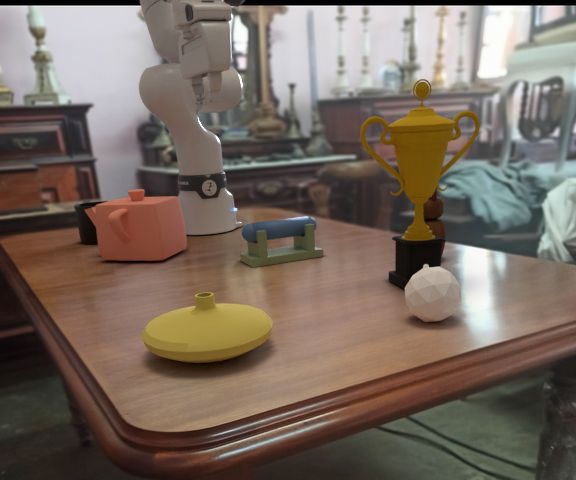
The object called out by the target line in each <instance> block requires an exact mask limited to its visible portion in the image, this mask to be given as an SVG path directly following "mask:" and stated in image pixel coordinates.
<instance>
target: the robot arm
mask: <svg viewBox="0 0 576 480" xmlns="http://www.w3.org/2000/svg"><path fill="white" fill-rule="evenodd" d="M245 2H246V0H139V4H140V9H141V11H142V15H143V18H144V22H145V25H146V27H147V31H148V33H149V37H150V40H151V42H152V46H153V48H154V50H155V52H156V53H157V54H158V55H159V56H160V57H161V58H162V59H163V60H166V62H167V61H168V63H161V64H157V65H153V66H149V67H146V68H144V70H143V72H142V74H141V75H140V78H139V82H138V92H139V96H140V100H141V102H142V103H143V105H144V106H145V108H146V109H147V110H148V111H149V112H150V113H151V114H153V115H154V116H156V117H157V118H158V119H159V120H160V121H161V122H162V123H163V124H164V126H165V127H166V129H167V131H168V132H169V135H170V136H171V139H172V142H173V145H174V149H175V154H176V160H177V161H176V162H177V167H178V175H177V188H178V190H179V191H178V195H177V197H178V199H179V203H180V207H181V211H182V215H183V219H184V225H185V230H186V236H202V235H203V236H205V235H212V234H213V235H215V234H221V233H227V232H230V231H234V230H235V229H237V228H240V227H243V222H242V221H238V220H237V214H236V212H238V208H237V207H235V199H234V195H233V194H232V193H231V192H230V191H228V189H227V186H228V185H227V184H228V183H227V181H228V180H227V177H226V174H227V173H226V172H225V170H224V161H223V160H224V159H223V151H222V150H223V149H222V143H221V140H220V138H219V137H218V135H216V134H215V133H213V132H212V131H210V130H209V129H207V128H205V127H204V126H203V125H202V124H201V121H200V118H199V114H219V113H222V112H226V111H229V110H232V109H233V110H234V109H235V108H237V107H238V106H239V104H240V103H241V100H242V98H243V92H244V86H243V85H244V84H243V81H242V78H241V76H240V73H239V72H238V71H237V69H236V68H235V67H233V66H231V65H232V58H233V57H232V56H233V55H232V34H231V33H232V32H231V24H230V22H231V21H232V19H233V11H232V7H233V8H234V7H235V8H239V7H240V6H241V5H242V4H243V3H245Z"/></svg>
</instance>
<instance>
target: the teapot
mask: <svg viewBox="0 0 576 480" xmlns="http://www.w3.org/2000/svg"><path fill="white" fill-rule="evenodd" d="M145 193H146V191H145V189H143V188H136V189H130V190H128V191H127V195H128V196H129V197H121V198H117V199H112V200H107V201H108V202H105V203H101V204H98V205H96V206H95V207H92V208H89V209H85V212H86V213H87V215H88V216H89V218H90V219H91V221H92V222H93V224H94V225H95V227H96V231H97V239H98V244H97V247H98V251H99V253H100V256H101V259H102V260H103V261H119V262H127V261H134V262H135V261H136V262H137V261H146V262H154V261H164V260H166V259H168V258H170V257H172V256H174V255H176V254H178V253H180V252H182V251H184V250H186V249H187V239H188V238H187V235H186V230H185V225H184V219H183V215H182V211H181V207H180V203H179V199H178V195H177V196H175V195H171V196H168V195H167V196H145Z"/></svg>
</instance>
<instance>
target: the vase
mask: <svg viewBox="0 0 576 480" xmlns="http://www.w3.org/2000/svg"><path fill="white" fill-rule="evenodd" d="M194 301H195V302H194V303H195V305H191V306H186V307H182V308H178V309H174V310H171V311H168V312H165V313H163V314H160V315H158V316H156V317H154V318H152V319H151V320H150V321H149V322H148V324H147V325H146V326H145V327H144V329H143V330H142V332H141V341H142V342H143V344H144V346H145V347H146V349H147V350H148V351H149V352H150V353H152V354H154V355H156V356H158V357H161V358H164V359H169V360H173V361H177V362H178V361H179V362H182V363H190V364H192V363H193V364H201V363H215V362H222V361H225V360H226V361H227V360H230V359H235V358H236V357H239V356H241V355H244V354H246V353H248V352H250V351H252V350H254V349H256V348H258V347H259V346H261V345H263V344H264V343H266V341H267V340H269V338H270V337H271V333H272V330H273V325H274V321H273V320H272V318H271V316H269V314H268V313H267V312H265V311H264V310H262V309H261V308H259V307H256V306H252V305H248V304H242V303H241V304H240V303H227V302H226V303H216V300H215V294H214V292H210V291H205V292H204V291H203V292H198V293H196V294H194Z"/></svg>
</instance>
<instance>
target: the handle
mask: <svg viewBox="0 0 576 480" xmlns="http://www.w3.org/2000/svg"><path fill="white" fill-rule="evenodd" d="M316 221H317V220H316V219H315V218H314V217H312V216H310V215H305V216H297V217H296V216H295V217H289V218H288V217H287V218H280V219H272V220H265V221H257V222H249V223H247V224H244V226H242V228H241V236H242V238H243V240H244V241H245V242H246V243H247V242H257V235H256V231H260V230H265V231H266V235H267V241H270V240H271V241H272V240H278V239H286V238H292V237H294V236H301V235H305V227H304V225H306V224H314V232H315V231H316V230H317V222H316Z"/></svg>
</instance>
